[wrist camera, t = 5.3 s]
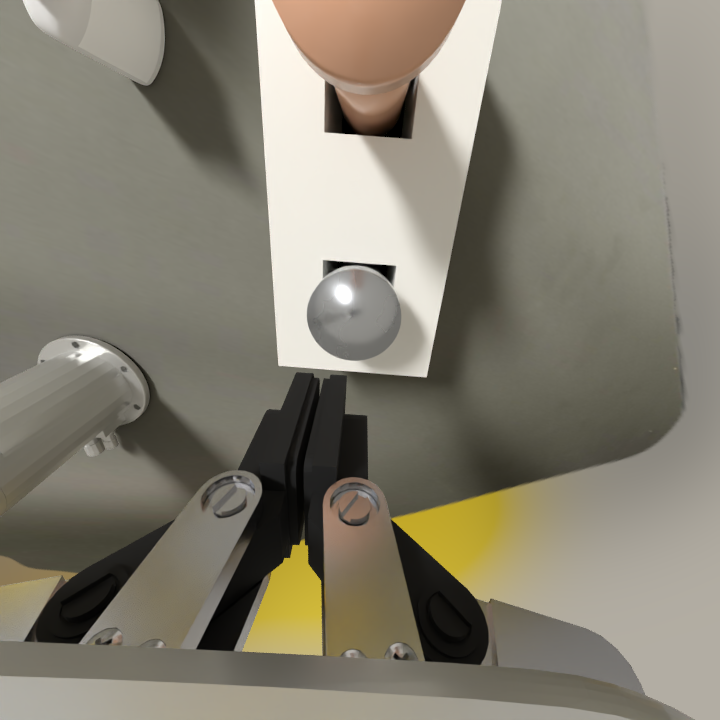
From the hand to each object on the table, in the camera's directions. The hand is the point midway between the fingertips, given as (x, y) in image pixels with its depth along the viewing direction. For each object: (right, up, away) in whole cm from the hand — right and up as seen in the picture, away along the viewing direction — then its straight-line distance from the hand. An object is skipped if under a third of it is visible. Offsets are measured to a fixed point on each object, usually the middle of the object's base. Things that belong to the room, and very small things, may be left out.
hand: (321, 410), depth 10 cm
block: (+2, +16, +17) cm, 24 cm away
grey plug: (+2, +11, +20) cm, 23 cm away
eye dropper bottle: (-15, +26, +13) cm, 33 cm away
